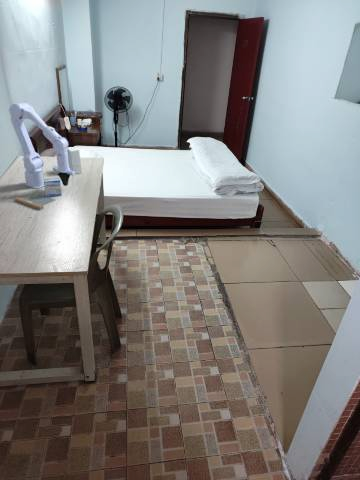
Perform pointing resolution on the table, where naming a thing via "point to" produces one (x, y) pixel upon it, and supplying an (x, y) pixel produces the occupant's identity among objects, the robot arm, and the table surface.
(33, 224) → the table surface
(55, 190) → the medicine box
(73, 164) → the skincare box
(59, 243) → the table surface
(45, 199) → the level mat
